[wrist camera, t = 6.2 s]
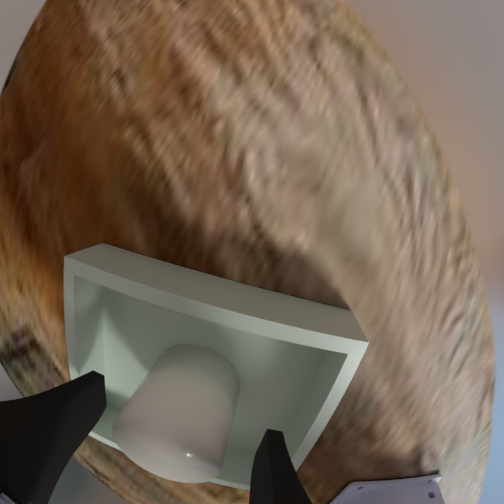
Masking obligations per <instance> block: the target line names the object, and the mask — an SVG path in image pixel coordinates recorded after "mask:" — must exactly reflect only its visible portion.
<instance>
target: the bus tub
mask: <svg viewBox="0 0 504 504" xmlns="http://www.w3.org/2000/svg"><path fill="white" fill-rule="evenodd" d="M64 317H65V333H66V344H67V354H68V362H69V370H70V377H71V380H73V379H75V378H78V377H80V376H82V375H84V374H86V373H88V372H91V371H93V370H94V371H96V372H98V373H100V374H102V375H104V377H105V391H106V402H107V407H106V409H105V411H104V412H103V414H102V416H101V418H100V419H99V421H98V423H97V424H96V425H95V427H94V428H93V429H92V431H91V432H90V433H89V434H88V435H90V436H92V437H94V438H96V439H98V440H99V441H101V442H103V443H105V444H108V445H110V446H112V447H114V448H116V449H118V450H120V451H122V450H121V449H120V448H119V446H118V445H117V443H116V441H115V440H114V437H113V434H112V425H113V422H114V421H115V419H116V418H117V416H118V415H119V413H120V412H121V411H122V409H123V408H124V406H125V405H126V403H127V402H128V401H129V399H130V398H131V396H132V395H133V394H134V392H135V391H136V389H137V388H138V386H139V385H140V384H141V382H142V381H143V379H144V378H145V377H146V375H147V374H148V372H149V371H150V370H151V368H152V367H153V365H154V364H155V363H156V361H157V360H158V358H159V357H160V356H161V354H162V353H163V352H164V351H166V350H167V349H169V348H171V347H173V346H176V345H182V344H193V345H199V346H203V347H206V348H209V349H211V350H213V351H215V352H217V353H219V354H220V355H222V356H223V357H224V358H225V359H227V360H228V361H229V362H230V363H231V365H232V366H233V367H234V369H235V370H236V372H237V374H238V376H239V380H240V392H239V397H238V401H237V406H236V410H235V414H234V419H233V423H232V427H231V432H230V436H229V440H228V444H227V449H226V453H225V457H224V461H223V465H222V469H221V472H220V474H219V475H218V476H217V477H215V478H214V479H212V480H210V481H208V482H212V483H216V484H221V485H225V486H230V487H234V488H239V489H245V490H250V482H251V472H252V466H253V461H254V456H255V453H256V451H257V449H258V447H259V445H260V443H261V441H262V439H263V436H264V434H265V432H266V430H267V429H272V430H278V431H282V433H283V435H284V439H285V443H286V446H287V449H288V452H289V455H290V458H291V461H292V463H293V466H294V468H295V471H297V470H298V468H299V467H300V465H301V464H302V462H303V461H304V459H305V458H306V457H307V455H308V454H309V452H310V450H311V449H312V447H313V446H314V444H315V443H316V441H317V440H318V438H319V436H320V435H321V433H322V432H323V430H324V428H325V427H326V425H327V423H328V422H329V420H330V418H331V416H332V415H333V413H334V411H335V409H336V408H337V406H338V404H339V402H340V400H341V399H342V397H343V395H344V393H345V391H346V389H347V387H348V385H349V384H350V382H351V380H352V378H353V376H354V374H355V372H356V370H357V368H358V366H359V363H360V361H361V359H362V357H363V355H364V353H365V351H366V348H367V346H368V344H369V341H368V340H367V338H366V336H365V334H364V332H363V331H362V329H361V327H360V325H359V323H358V322H357V320H356V318H355V316H354V314H353V313H352V311H351V310H348V309H344V308H339V307H335V306H331V305H327V304H322V303H318V302H314V301H310V300H306V299H302V298H298V297H294V296H290V295H286V294H282V293H278V292H274V291H270V290H266V289H262V288H258V287H255V286H251V285H247V284H243V283H239V282H236V281H232V280H228V279H225V278H221V277H217V276H214V275H210V274H206V273H203V272H199V271H196V270H192V269H189V268H185V267H181V266H178V265H175V264H171V263H168V262H164V261H161V260H157V259H154V258H151V257H147V256H144V255H140V254H137V253H134V252H131V251H127V250H124V249H121V248H117V247H114V246H111V245H108V244H105V243H102V244H99V245H95V246H92V247H89V248H87V249H84V250H81V251H78V252H75V253H72V254H69V255H66V256H64Z"/></svg>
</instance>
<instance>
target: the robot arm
mask: <svg viewBox="0 0 504 504" xmlns="http://www.w3.org/2000/svg"><path fill="white" fill-rule="evenodd" d="M106 407H107V402H106V391H105V377H104V375H102V374H100V373H98V372H96V371H94V370H93V371H91V372H88V373H86V374H84V375H82V376H80V377H78V378H75V379H73V380H71V381H69V382H67V383H64V384H62V385H60V386H57V387H55V388H53V389H50V390H47V391H45V392H42V393H39V394H36V395H33V396H29V397H25V398H21V399H16V400H9V401H1V402H0V504H48V502H49V499H50V497H51V495H52V492H53V490H54V488H55V486H56V483H57V481H58V480H59V477H60V476H61V474H62V472H63V470H64V468H65V466H66V465H67V463H68V461H69V459H70V458H71V456H72V455H73V454H74V452H75V451H76V450H77V448H78V447H79V446H80V445H81V443H82V442H83V441H84V439H85V438H86V437H87V436H88V434H89V433H90V432H91V431H92V429H93V428H94V427H95V425H96V424H97V423H98V421H99V419H100V418H101V416H102V414H103V412H104V411H105V409H106ZM441 478H442V475H441V474H435V475H429V476H423V477H416V478H407V479H398V480H385V481H363V482H352V483H350V484H349V485H348V486H347V487H346V488H345V489H344V490H343V491H342V492H341V493H340V494H339V495H338V496H337V497H336V498H335V499H334V500H333V501H332V502H331V503H330V504H445V502H444V500H443V497H442V494H441V492H440V489H439V487H438V484H437V482H438V481H439V480H440V479H441ZM249 504H313V503H312V502H311V500H310V499H309V497H308V495H307V494H306V492H305V490H304V488H303V486H302V484H301V482H300V480H299V478H298V476H297V473H296V471H295V468H294V466H293V463H292V461H291V458H290V455H289V452H288V449H287V446H286V443H285V439H284V435H283V433H282V431H278V430H272V429H267V430H266V432H265V434H264V436H263V439H262V441H261V443H260V445H259V447H258V449H257V451H256V453H255V456H254V461H253V466H252V472H251V482H250V498H249Z"/></svg>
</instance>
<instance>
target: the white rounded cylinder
mask: <svg viewBox="0 0 504 504" xmlns="http://www.w3.org/2000/svg"><path fill="white" fill-rule="evenodd" d="M239 392H240V380H239V376H238V374H237V372H236V370H235V369H234V367H233V366H232V365H231V363H230V362H229V361H228V360H227V359H225V358H224V357H223V356H222V355H220V354H219V353H217V352H215V351H213V350H211V349H209V348H206V347H203V346H199V345H193V344H182V345H176V346H173V347H171V348H169V349H167V350H166V351H164V352H163V353H162V354H161V356H160V357H159V358H158V360H157V361H156V363H155V364H154V365H153V367H152V368H151V370H150V371H149V372H148V374H147V375H146V377H145V378H144V379H143V381H142V382H141V384H140V385H139V386H138V388H137V389H136V391H135V392H134V394H133V395H132V396H131V398H130V399H129V401H128V402H127V403H126V405H125V406H124V408H123V409H122V411H121V412H120V413H119V415H118V416H117V418H116V419H115V421H114V422H113V425H112V434H113V437H114V440H115V441H116V443H117V445H118V446H119V448H120V449H121V450H122V451H123V453H124V454H125V455H126V456H127V457H128V458H130V459H131V460H132V461H133V462H135V463H136V464H137V465H139V466H140V467H142V468H143V469H145V470H147V471H149V472H151V473H153V474H155V475H157V476H160V477H163V478H166V479H169V480H173V481H177V482H183V483H201V482H206V481H210V480H212V479H214V478H215V477H217V476H218V475H219V474H220V472H221V469H222V465H223V461H224V457H225V453H226V449H227V444H228V440H229V436H230V432H231V427H232V423H233V419H234V414H235V410H236V406H237V401H238V397H239Z"/></svg>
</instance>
